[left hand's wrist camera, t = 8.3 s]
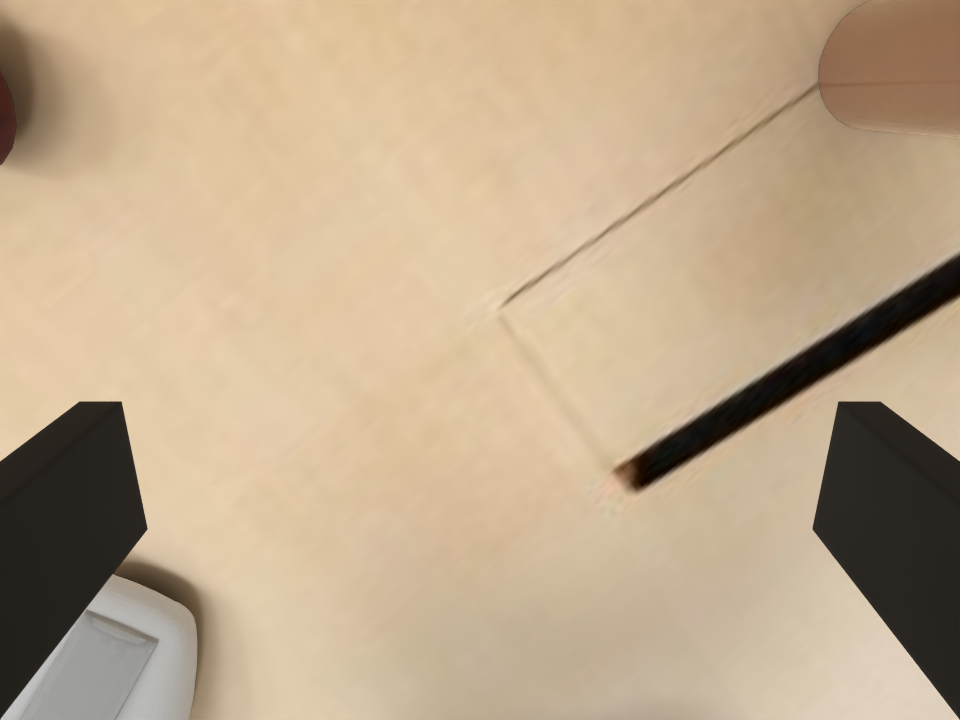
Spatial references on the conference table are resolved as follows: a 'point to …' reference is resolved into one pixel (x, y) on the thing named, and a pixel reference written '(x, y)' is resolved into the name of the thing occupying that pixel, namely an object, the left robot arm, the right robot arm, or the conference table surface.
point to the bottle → (895, 67)
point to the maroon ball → (6, 120)
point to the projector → (118, 662)
